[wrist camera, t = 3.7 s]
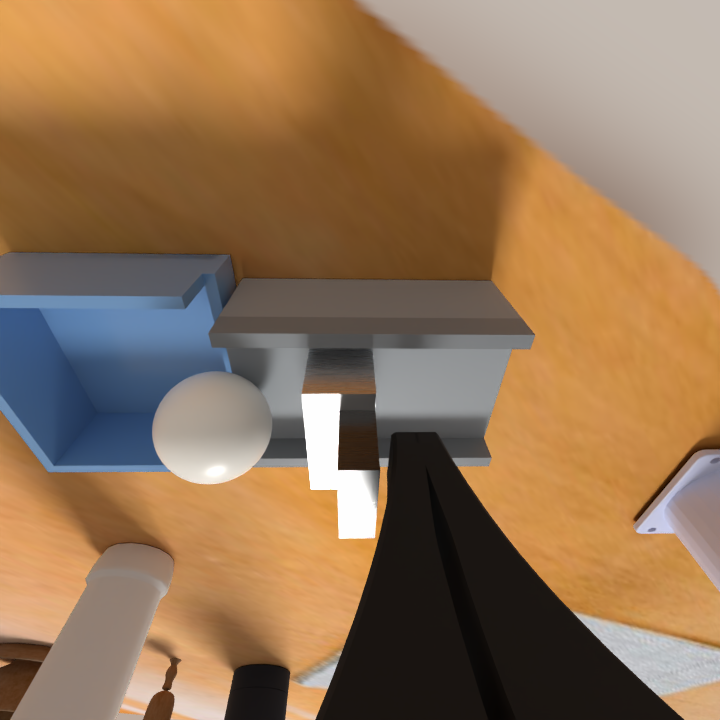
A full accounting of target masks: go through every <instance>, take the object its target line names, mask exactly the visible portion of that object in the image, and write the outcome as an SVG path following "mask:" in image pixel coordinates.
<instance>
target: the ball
mask: <svg viewBox="0 0 720 720" xmlns="http://www.w3.org/2000/svg"><path fill="white" fill-rule="evenodd" d="M271 433H272V415H271V411H270V407H269V405H268V402H267V400H266V398H265V397H264V395H263V394H262V392H261V391H260V390H259V389H258V388H257V387H256V386H255V385H254V384H253V383H251V382H250V381H249V380H247V379H245V378H243V377H241V376H239V375H236V374H233V373H229V372H222V371H210V372H204V373H200V374H196V375H193V376H191V377H188V378H186V379H184V380H183V381H181V382H180V383H178V384H177V385H176V386H174V387H173V388H172V389H171V390H170V391H169V392H168V393H167V394H166V395H165V397H164V398H163V399H162V401H161V402H160V404H159V406H158V408H157V411H156V413H155V416H154V420H153V426H152V437H153V443H154V447H155V450H156V452H157V455H158V457H159V458H160V460H161V461H162V463H163V464H164V465H165V466H166V467H167V468H168V469H169V470H170V471H171V472H172V473H174V474H175V475H177V476H178V477H180V478H182V479H185V480H187V481H190V482H193V483H198V484H218V483H223V482H227V481H230V480H232V479H235V478H237V477H239V476H241V475H242V474H244V473H246V472H247V471H248V470H250V469H251V468H252V467H253V466H254V465H255V464H256V463H257V462H258V461H259V459H260V458H261V457H262V455H263V454H264V452H265V450H266V448H267V446H268V444H269V441H270V437H271Z"/></svg>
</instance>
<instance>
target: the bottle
mask: <svg viewBox="0 0 720 720" xmlns="http://www.w3.org/2000/svg"><path fill="white" fill-rule="evenodd" d="M173 570H174V560H173V559H172V558H171V557H170V556H169V554H167V553H165V552H163V551H162V550H160V549H158V548H154V547H151V546H148V545H144V544H136V543H123V544H116V545H114V546H111V547H108V549H107V550H106V551H105V552H104V553H103V554H102V555H101V556H100V558H99V559H98V560H97V561H96V563H95V564H94V566H93V567H92V569H91V571H90V572H89V574H88V576H87V577H86V582H87V587H86V588H85V590H84V592H83V594H82V595H81V597H80V599H79V601H78V602H77V604H76V606H75V608H74V609H73V611H72V613H71V615H70V616H69V618H68V620H67V621H66V623H65V625H64V627H63V628H62V630H61V632H60V634H59V635H58V637H57V639H56V641H55V642H54V644H53V646H52V648H51V649H50V651H49V653H48V655H47V656H46V658H45V660H44V662H43V663H42V665H41V667H40V669H39V670H38V672H37V674H36V676H35V677H34V679H33V681H32V683H31V684H30V686H29V688H28V690H27V691H26V693H25V695H24V696H23V698H22V700H21V702H20V703H19V705H18V707H17V709H16V710H15V712H14V714H13V716H12V717H11V719H10V720H116V718H117V715H118V713H119V710H120V707H121V705H122V702H123V699H124V696H125V694H126V691H127V688H128V686H129V683H130V680H131V677H132V675H133V672H134V669H135V667H136V664H137V661H138V658H139V656H140V653H141V650H142V648H143V645H144V642H145V639H146V637H147V634H148V631H149V629H150V626H151V623H152V620H153V618H154V615H155V612H156V610H157V607H158V604H159V601H160V599H161V598H163V597H164V596H165V595H166V594H167V592H168V589H169V586H170V584H171V580H172V576H173Z"/></svg>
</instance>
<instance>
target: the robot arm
mask: <svg viewBox="0 0 720 720" xmlns="http://www.w3.org/2000/svg"><path fill="white" fill-rule="evenodd" d="M633 527H634V529H635V530H636V532H637V533H675V534H676V535H677V536H678V538H679V539H680V540H681V542H682V543H683V544H684V546H685V547H686V548H687V550H688V551H689V552H690V554H691V555H692V556H693V557H694V559H695V560H696V561H697V563H698V564H699V565H700V567H701V568H702V569H703V571H704V572H705V573H706V575H707V576H708V577H709V579H710V580H711V581H712V583H713V584H714V585H715V587H716V588H717V589H718V590H719V592H720V449H705V450H700V451H698V452H696V453H695V454H693V455H692V457H691V458H690V459H689V460H688V461H687V463H686V464H685V465H684V466H683V467H682V468H681V470H680V471H679V472H678V473H677V474H676V475H675V477H674V478H673V479H672V480H671V481H670V483H669V484H668V485H667V486H666V487H665V488H664V490H663V491H662V492H661V493H660V494H659V495H658V497H657V498H656V499H655V500H654V501H653V503H652V504H651V505H650V506H649V507H648V508H647V510H646V511H645V512H644V513H643V514H642V516H641V517H640V518H639V519H638V520H637V521H636V523H635V524H634V526H633ZM315 720H684V719H683V718H682V717H681V716H680V715H678V714H677V713H676V712H675V711H674V710H673V709H672V708H671V707H669V706H668V705H667V704H666V703H665V702H664V701H663V700H662V699H661V698H660V697H659V696H658V695H656V694H655V693H654V692H653V691H652V690H651V689H650V688H649V687H648V686H647V685H646V684H644V683H643V682H642V681H641V680H640V679H639V678H638V677H637V676H636V675H635V674H634V673H633V672H632V671H631V670H630V669H629V668H628V667H627V666H626V665H624V664H623V663H622V662H621V661H620V660H619V659H618V658H617V657H616V656H615V655H614V654H613V653H612V652H611V651H610V650H609V649H608V648H607V647H606V646H605V645H604V644H603V643H602V642H601V641H600V640H599V639H598V638H597V637H596V636H595V635H594V634H593V633H592V632H591V631H590V630H589V629H588V628H587V627H586V626H585V625H584V624H583V623H582V622H581V621H580V620H579V619H578V618H577V617H576V615H575V614H574V613H573V612H572V611H571V610H570V609H569V608H568V607H567V606H566V605H565V604H564V603H563V602H562V601H561V600H560V599H559V598H558V597H557V596H556V595H555V593H554V592H553V591H552V590H551V589H550V588H549V587H548V586H547V585H546V583H545V582H544V581H543V580H542V579H541V578H540V577H539V576H538V575H537V573H536V572H535V571H534V570H533V569H532V567H531V566H530V565H529V564H528V563H527V562H526V560H525V559H524V558H523V557H522V556H521V555H520V553H519V552H518V551H517V550H516V548H515V547H514V546H513V545H512V543H511V542H510V541H509V540H508V538H507V537H506V536H505V535H504V533H503V532H502V531H501V529H500V528H499V527H498V525H497V524H496V523H495V521H494V520H493V519H492V517H491V516H490V515H489V513H488V512H487V511H486V509H485V508H484V506H483V505H482V503H481V502H480V501H479V499H478V498H477V496H476V495H475V493H474V492H473V490H472V489H471V487H470V486H469V485H468V483H467V482H466V480H465V478H464V477H463V475H462V474H461V472H460V471H459V469H458V467H457V466H456V464H455V463H454V461H453V459H452V458H451V456H450V454H449V453H448V451H447V449H446V447H445V446H444V444H443V442H442V440H441V438H440V437H439V435H438V434H437V433H436V432H395V433H393V434H392V435H391V441H390V451H389V461H388V470H387V505H386V509H385V514H384V518H383V522H382V527H381V531H380V535H379V539H378V543H377V547H376V551H375V554H374V558H373V561H372V565H371V568H370V572H369V575H368V578H367V581H366V584H365V587H364V591H363V594H362V597H361V600H360V603H359V606H358V609H357V612H356V615H355V618H354V621H353V624H352V626H351V629H350V632H349V635H348V637H347V640H346V643H345V645H344V648H343V651H342V654H341V656H340V659H339V662H338V664H337V667H336V670H335V672H334V675H333V678H332V680H331V683H330V685H329V688H328V690H327V693H326V695H325V697H324V700H323V702H322V705H321V707H320V710H319V712H318V715H317V717H316V719H315Z"/></svg>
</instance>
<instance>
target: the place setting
mask: <svg viewBox="0 0 720 720" xmlns="http://www.w3.org/2000/svg"><path fill="white" fill-rule="evenodd" d="M51 648H52V647H48V646H41V645H33V644H20V643H2V644H0V658H7V659H15V660H14V661H13V662H12V663H11V664H8V665H6V666H3V667H1V668H0V720H10V719H11V717H12V716H13V714H14V712H15V710H16V709H17V707H18V705H19V703H20V702H21V700H22V698H23V696H24V695H25V693H26V691H27V690H28V688H29V686H30V684H31V683H32V681H33V679H34V677H35V676H36V674H37V672H38V670H39V669H40V667H41V665H42V663H43V662H44V660H45V658H46V656H47V655H48V653H49V651H50V649H51ZM180 661H181V659H177V658H172V659H170V662H171V666H170V667H169V669H168V670H167V672H166V679H165V683H164V685H163V687H162V689H163V690H164V691H161V692H158V693H156V694H155V695H154V696H153V698H152V699H151V701H150V703H149V705H148V708H147V710H146V713H145V716H144V719H143V720H170V718H171V715H172V711H173V707H174V695H173V694H172V693H171V692H169V691H168V690H170V689H171V687H172V682H173V680H174V678H175V676H176V674H177V664H178V663H179V662H180Z"/></svg>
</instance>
